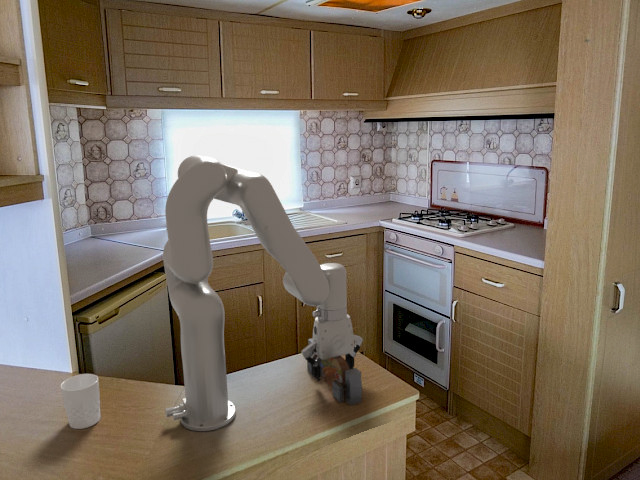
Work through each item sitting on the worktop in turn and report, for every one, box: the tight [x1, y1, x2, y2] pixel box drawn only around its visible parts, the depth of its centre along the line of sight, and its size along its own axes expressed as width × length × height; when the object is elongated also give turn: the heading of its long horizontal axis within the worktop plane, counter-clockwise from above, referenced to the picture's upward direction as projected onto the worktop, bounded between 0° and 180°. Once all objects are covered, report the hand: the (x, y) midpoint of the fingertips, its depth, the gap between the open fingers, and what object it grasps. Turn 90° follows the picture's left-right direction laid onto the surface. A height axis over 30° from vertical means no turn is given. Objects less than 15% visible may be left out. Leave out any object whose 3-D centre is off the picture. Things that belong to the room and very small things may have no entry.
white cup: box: [59, 373, 102, 430], centre depth 119 cm, size 8×8×10 cm
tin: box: [319, 356, 350, 391], centre depth 134 cm, size 15×3×8 cm, turn 25°
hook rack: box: [306, 337, 363, 406], centre depth 134 cm, size 6×23×8 cm, turn 26°
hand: (333, 374), depth 134 cm, fingers open, 9 cm apart
